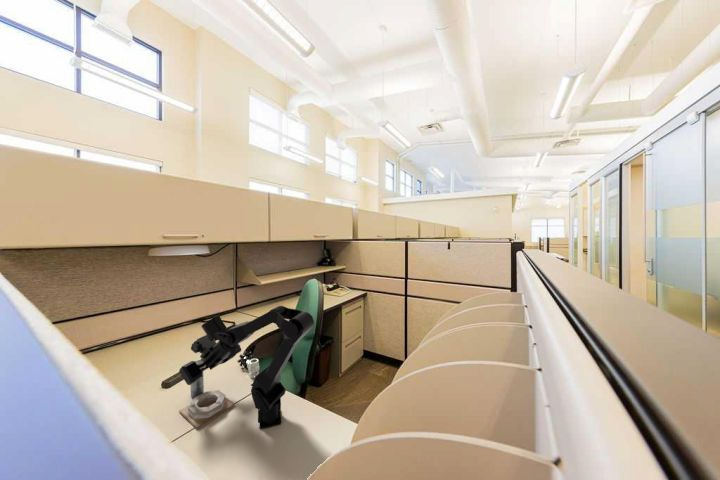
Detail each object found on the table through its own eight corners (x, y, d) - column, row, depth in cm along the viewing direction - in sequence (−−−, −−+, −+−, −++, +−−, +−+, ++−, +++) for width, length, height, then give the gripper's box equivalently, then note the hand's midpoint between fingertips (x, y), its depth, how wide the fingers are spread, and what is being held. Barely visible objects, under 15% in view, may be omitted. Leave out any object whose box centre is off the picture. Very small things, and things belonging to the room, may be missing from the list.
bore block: (234, 405, 88) (234, 397, 88) (197, 429, 78) (197, 420, 78) (216, 392, 94) (215, 384, 94) (179, 412, 84) (179, 404, 84)
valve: (264, 375, 105) (253, 362, 114) (263, 360, 105) (252, 348, 114) (247, 381, 101) (237, 368, 110) (247, 366, 100) (237, 353, 109)
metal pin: (204, 390, 95) (204, 359, 94) (202, 397, 92) (201, 365, 91) (192, 392, 94) (191, 361, 93) (189, 399, 90) (188, 367, 89)
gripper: (230, 321, 97) (208, 343, 102) (182, 343, 80) (159, 368, 84) (246, 344, 96) (224, 366, 100) (201, 372, 78) (176, 397, 83)
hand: (198, 373), depth 92 cm, fingers open, 9 cm apart
